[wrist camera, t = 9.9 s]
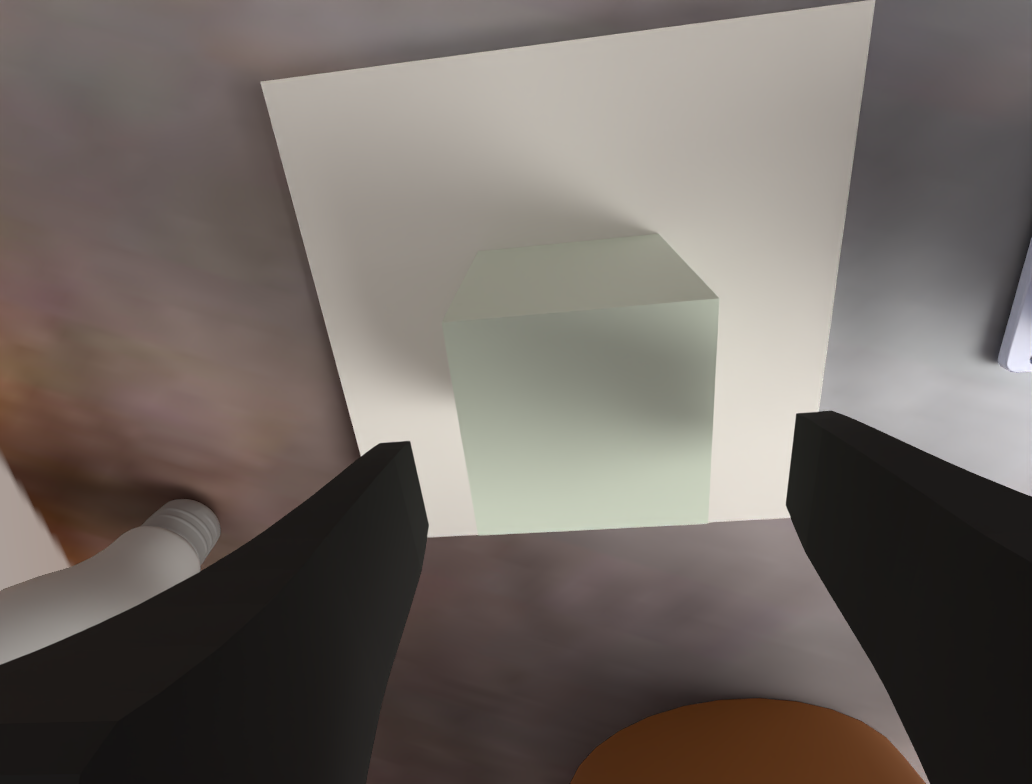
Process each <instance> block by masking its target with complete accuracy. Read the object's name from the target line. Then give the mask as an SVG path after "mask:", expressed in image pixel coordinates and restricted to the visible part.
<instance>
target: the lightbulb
mask: <svg viewBox="0 0 1032 784" xmlns="http://www.w3.org/2000/svg"><path fill="white" fill-rule="evenodd" d="M220 533H221V528H220V524H219V521H218V519H217V517H216V515H215V514H214V513H213V512H212V511H211V510H210V509H209V508H208V507H207V506H205V505H203V504H202V503H200V502H197V501H194V500H190V499H177V500H172V501H169V502H168V503H166V504H165V505H164V506H162V507H161V508H160V509H159V510H158V511H156V512H155V513H154V514H153V515H152V516H151V517H149V518H148V519H147V520H146V521H145V522H144V523H143V524H142V525H141V526H140V527H137V528H133V529H131V530H129V531H127V532H125V533H124V534H122V535H121V536H120V537H119V538H118V539H116V540H115V541H114V542H113V543H112V544H111V545H110V546H108V547H107V548H105V549H104V550H102V551H101V552H99V553H98V554H96V555H95V556H93V557H92V558H90V559H87V560H85V561H83V562H81V563H79V564H77V565H74V566H72V567H70V568H66V569H63V570H60V571H56V572H52V573H49V574H45V575H42V576H39V577H36V578H33V579H30V580H28V581H25V582H22V583H19V584H16V585H14V586H11V587H8V588H5V589H3V590H1V591H0V665H1V664H3V663H6V662H8V661H11V660H14V659H16V658H19V657H21V656H24V655H27V654H29V653H32V652H34V651H37V650H39V649H41V648H44V647H46V646H49V645H51V644H53V643H56V642H58V641H61V640H63V639H65V638H67V637H70V636H72V635H74V634H76V633H79V632H81V631H83V630H85V629H88V628H90V627H92V626H94V625H97V624H99V623H101V622H103V621H105V620H107V619H109V618H112V617H114V616H116V615H118V614H120V613H122V612H124V611H126V610H128V609H131V608H133V607H135V606H137V605H139V604H141V603H143V602H144V601H146V600H148V599H150V598H152V597H154V596H156V595H157V594H159V593H161V592H163V591H165V590H167V589H169V588H171V587H172V586H174V585H176V584H178V583H180V582H182V581H184V580H186V579H187V578H189V577H191V576H193V575H195V574H197V573H199V572H200V570H201V566H200V565H201V564H202V563H203V562H204V560H205V559H206V557H207V556H208V554H209V553H210V551H211V549H212V548H213V547H214V545H215V544H216V542H217V540H218V538H219V536H220Z"/></svg>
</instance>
